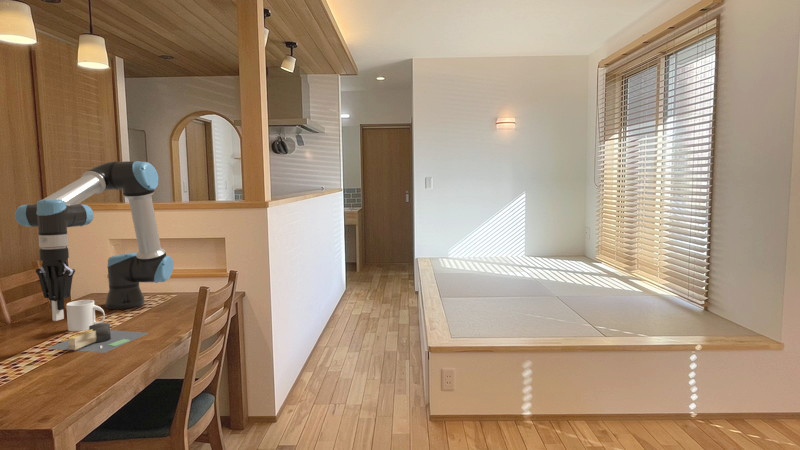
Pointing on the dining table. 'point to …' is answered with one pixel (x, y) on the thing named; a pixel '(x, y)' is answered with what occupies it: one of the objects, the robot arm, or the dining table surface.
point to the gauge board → (102, 347)
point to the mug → (82, 315)
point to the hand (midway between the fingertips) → (58, 319)
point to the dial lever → (91, 336)
